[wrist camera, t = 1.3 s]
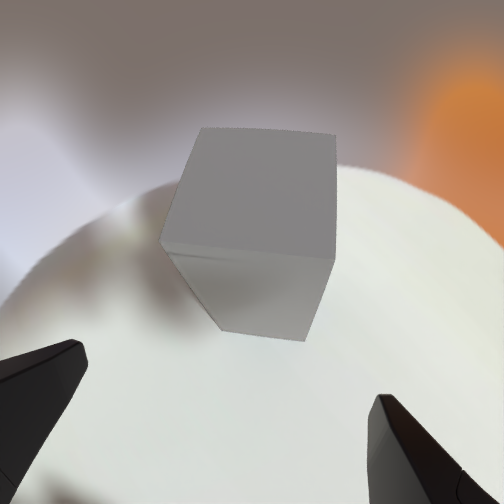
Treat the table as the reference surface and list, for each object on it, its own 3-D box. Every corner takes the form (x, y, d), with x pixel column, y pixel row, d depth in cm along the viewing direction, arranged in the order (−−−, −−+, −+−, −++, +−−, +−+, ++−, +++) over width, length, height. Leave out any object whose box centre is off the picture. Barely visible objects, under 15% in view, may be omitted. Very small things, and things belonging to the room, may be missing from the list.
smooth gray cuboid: (304, 341, 21) (335, 259, 10) (221, 330, 22) (158, 241, 11) (312, 265, 24) (335, 134, 12) (236, 257, 25) (201, 127, 13)
